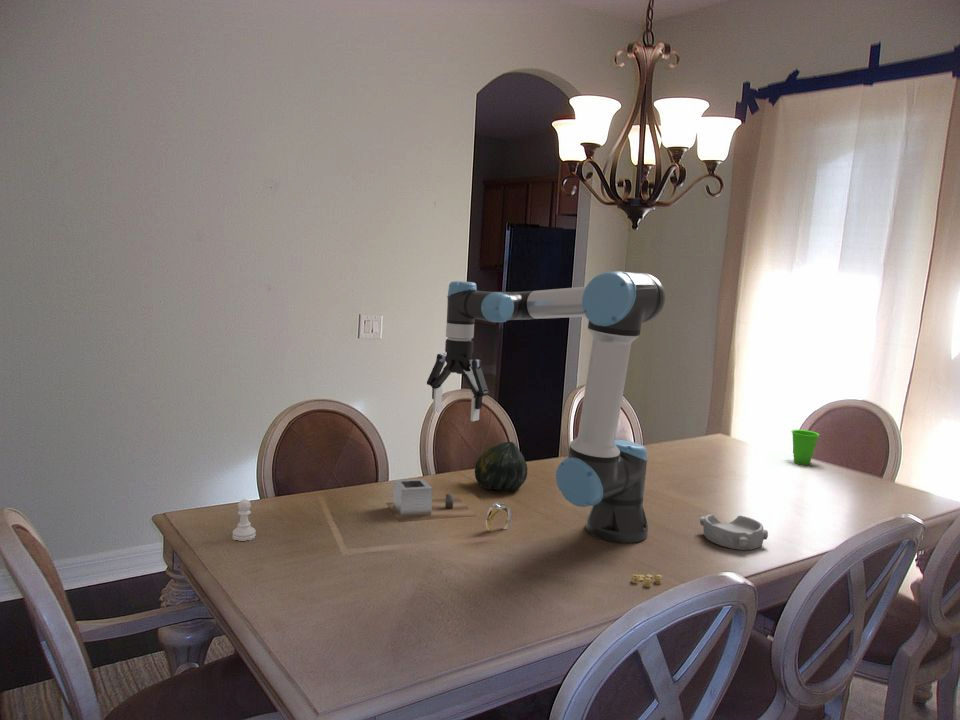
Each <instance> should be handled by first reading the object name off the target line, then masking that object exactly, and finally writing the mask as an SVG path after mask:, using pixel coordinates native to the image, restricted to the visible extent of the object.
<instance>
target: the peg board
mask: <svg viewBox="0 0 960 720" xmlns="http://www.w3.org/2000/svg"><path fill="white" fill-rule="evenodd" d="M386 505H387V507H388V508H389V509H390V511H391V512H392V514H393V515H394V517H395V519H397V521H398V522H399V523H402V522H403V523H405V522H416V521H428V520H440V519H452V518H454V519H455V518H466V517H477V515H476V514H475V513H474V512H473V511H472V509H470V507H468V505H466V504H465V502H463V501H462V500H461V498H459V497H454V494H453V493H446V494H445V498H435V499H433V498H432V510H431V515H423V516H410V517H400V516H399V515H398V513H397V512H396V510H395V509H394V507H393V501H392V502H386Z"/></svg>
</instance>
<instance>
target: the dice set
mask: <svg viewBox="0 0 960 720" xmlns="http://www.w3.org/2000/svg"><path fill="white" fill-rule="evenodd" d="M653 579H654V583H655V584H658V585H659V584H660V585H661V584H662V580H663V575H661V574H656V575H655V576H653V575H652V574H646V575H644V574H636V573H635V574H632V575H631V582H632V583H633V584H639V582H643V583H644V584H643V585H644V587H647V588H650V587H652V582H653Z"/></svg>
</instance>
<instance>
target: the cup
mask: <svg viewBox="0 0 960 720" xmlns="http://www.w3.org/2000/svg"><path fill="white" fill-rule="evenodd" d="M790 432H791V434H792V446H793V447H792V448H793V461H794V463H795V464H797V465H800V466H801V465H803V466H808V465H810V464H811V461H812V459H813V455H814V451H815V448H816V444H817V441H818V439H819V437H820V433H818V432H815V431H812V430H807V429H806V430H805V429H792V430H791V431H790Z"/></svg>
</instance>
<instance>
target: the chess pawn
mask: <svg viewBox="0 0 960 720" xmlns="http://www.w3.org/2000/svg"><path fill="white" fill-rule="evenodd" d="M237 503H238V504H237V508H238V511H237V515H240V519H239V522H238V523H237V527H236V528H235V529H234V530H232V540H234V539H235V540H242V541H243V540H244V541H245V540H250V541H252V540H251V539H253V538H254V539H256V537H255V536H257V535H256V532H257V531H256V529H255V528H254V527H253V526H251V525H252V523H251V522H250V521H249V515H250V514H252V511H251V510H250V509H251V507H252V505H251V501H250V500H248V499H241V500H239V502H237ZM254 539H253V540H254ZM235 540H234V541H235Z"/></svg>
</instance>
